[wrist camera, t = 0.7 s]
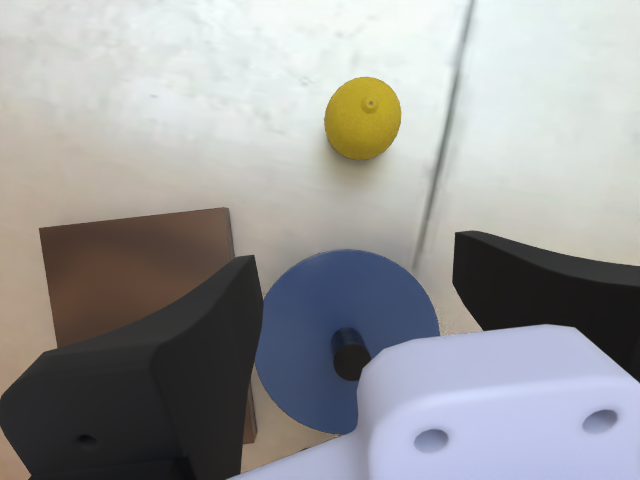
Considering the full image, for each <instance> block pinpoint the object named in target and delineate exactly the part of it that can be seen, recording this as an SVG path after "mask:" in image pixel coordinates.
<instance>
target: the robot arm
mask: <svg viewBox="0 0 640 480" xmlns="http://www.w3.org/2000/svg"><path fill="white" fill-rule="evenodd" d="M452 283H453V285H454V287H455V289H456V291H457V293H458V295H459V296H460V298H461V300H462V302H463V304H464V305H465V307H466V308H467V309H468V311H469V312H470V313H471V315H472V316H473V317H474V319H475V320H476V322H477V323H478V324H479V325H480V327H481V328H482V329H483V331H482V332H473V333H464V334H455V335H446V336H437V337H429V338H420V339H413V340H410V341H407V342H404V343H401V344H398V345H394V346H391V347H388V348H385V349H383V350H382V351H381V352H380V353H379V354H378V355H377V356H376V357H375V358H373V359H372V360H371V361H370V362H369V363H368V364H367V365H366V366H365V367H364V368H363V369H362V373H361V377H360V380H359V384H358V388H357V403H358V423H357V426H356V429H355V430H354V431H352V432H351V433H348V434H345V435H343V436H340V437H337V438H335V439H332V440H329V441H327V442H324V443H321V444H319V445H316V446H313V447H311V448H308V449H305V450H303V451H300V452H298V453H295V454H292V455H290V456H287V457H284V458H282V459H279V460H276V461H274V462H271V463H268V464H266V465H263V466H260V467H258V468H255V469H252V470H250V471H247V472H245V473H242V474H240V471H241V457H242V445H243V435H244V424H245V414H246V405H247V396H248V389H249V383H250V378H251V373H252V369H253V365H254V360H255V356H256V352H257V347H258V343H259V338H260V334H261V329H262V321H263V307H264V303H263V297H262V292H261V287H260V282H259V277H258V272H257V267H256V262H255V257H254V255H249V256H240V257H236V258H234V259H233V260H231V261H230V262H229V263H227V264H226V265H225V266H223V267H222V268H221V269H220V270H218V271H217V272H216V273H215V274H213V275H212V276H211V277H210V278H208V279H207V280H206V281H204V282H203V283H201V284H200V285H199V286H197V287H196V288H194V289H193V290H192V291H190V292H189V293H187V294H186V295H184V296H183V297H181V298H179V299H178V300H176V301H174V302H173V303H171V304H169V305H167V306H166V307H164V308H162V309H160V310H158V311H156V312H154V313H152V314H150V315H148V316H145V317H143V318H141V319H139V320H137V321H135V322H133V323H130V324H128V325H125V326H123V327H120V328H118V329H115V330H113V331H110V332H107V333H105V334H102V335H99V336H96V337H93V338H90V339H87V340H84V341H80V342H77V343H74V344H70V345H67V346H64V347H60V348H57V349H54V350H50V351H46V352H44V353H42V354H41V355H40V356H39V358H38V359H37V360H36V361H35V362H34V363H33V364H32V365H31V366H30V367H29V368H28V369H27V370H26V371H25V372H24V373H23V374H22V375H21V376H20V377H19V378H18V379H17V380H16V381H15V382H14V383H13V384H12V385H11V386H10V387H9V388H8V389H7V390H6V391H5V392H4V394H3V395H2V396H1V399H0V426H1V428H2V430H3V433H4V435H5V436H6V438H7V439H8V441H9V442H10V444H11V445H12V447H13V448H14V450H15V451H16V453H17V454H18V456H19V457H20V459H21V460H22V462H23V463H24V465H25V466H26V468H27V469H28V471H29V472H30V474H31V477H30V478H29V479H28V480H640V266H632V265H624V264H616V263H608V262H602V261H595V260H590V259H585V258H579V257H574V256H569V255H565V254H560V253H556V252H552V251H548V250H544V249H540V248H537V247H533V246H529V245H526V244H522V243H519V242H516V241H512V240H509V239H506V238H502V237H499V236H495V235H492V234H488V233H484V232H480V231H463V232H455V246H454V262H453V279H452Z"/></svg>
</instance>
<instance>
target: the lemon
mask: <svg viewBox="0 0 640 480" xmlns="http://www.w3.org/2000/svg"><path fill="white" fill-rule="evenodd" d="M324 122H325V131H326V135H327V138H328V140H329V142H330V143H331V145H332V146H333V148H334V149H335V150H336V151H337V152H338V153H340V154H341V155H343V156H345V157H347V158H350V159H354V160H366V159H370V158H374V157H376V156H377V155H379V154H381V153H383V152H384V151H385V150H386V149H387V148H388V147H389V146H390V145H391V144H392V142H393V141H394V139H395V137H396V136H397V133H398V130H399V127H400V124H401V108H400V103H399V100H398V98H397V96H396V94H395V92H394V91H393V90H392V89H391V87H390V86H389V85H387V84H386V83H385V82H383V81H381V80H379V79H376V78H371V77H360V78H355V79H353V80H350V81H348V82H346V83H345V84H344V85H342V86H341V87H340V88H339V89H338V90H337V91H336V92H335V93H334V95H333V96H332V97H331V99H330V101H329V103H328V106H327V108H326V113H325V118H324Z"/></svg>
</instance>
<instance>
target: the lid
mask: <svg viewBox="0 0 640 480" xmlns="http://www.w3.org/2000/svg"><path fill="white" fill-rule="evenodd" d="M263 303H264V307H263V321H262V329H261V334H260V338H259V343H258V347H257V352H256V356H255V366H256V369H257V372H258V375H259V378H260V380H261V382H262V384H263V386H264V388H265V390H266V391H267V393H268V394H269V396H270V397H271V399H272V400H273V401H274V402H275V403H276V404H277V405H278V406H279V408H281V409H282V410H283V411H284V412H285V413H286V414H287V415H289V416H290V417H292V418H293V419H295V420H296V421H298V422H299V423H301V424H303V425H305V426H307V427H310V428H312V429H315V430H318V431H322V432H327V433H332V434H348V433H351V432H352V431H354V430H355V429H356V426H357V423H358V403H357V388H358V384H359V380H360V377H361V373H362V369H363V368H364V367H365V366H366V365H367V364H368V363H369V362H370V361H371V360H372V359H373V358H375V357H376V356H377V355H378V354H379V353H380V352H381V351H382V350H383V349H385V348H388V347H391V346H394V345H398V344H401V343H404V342H407V341H410V340H413V339H420V338H429V337H437V336H440V332H439V325H438V320H437V317H436V313H435V310H434V307H433V305H432V303H431V301H430V299H429V297H428V295H427V294H426V292H425V291H424V289H423V287H422V286H421V285H420V284H419V283H418V281H417V280H416V279H415V278H414V277H413V276H412V275H411V274H410V273H409V272H407V271H406V270H405V269H404V268H402V267H401V266H399V265H398V264H396V263H395V262H393V261H391V260H389V259H387V258H385V257H382V256H380V255H377V254H374V253H371V252H366V251H361V250H350V249H346V250H333V251H328V252H323V253H320V254H317V255H314V256H311V257H309V258H307V259H305V260H303V261H301V262H299V263H298V264H296V265H295V266H293V267H291V268H290V269H289V270H288V271H287V272H285V273H284V274H283V275H282V276H281V277H280V278H279V279H278V280H277V281H276V283H275V284H274V285H273V286H272V288H271V289H270V290H269V292H268V293H267V295H266V297H265V298H264V300H263Z"/></svg>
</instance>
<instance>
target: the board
mask: <svg viewBox="0 0 640 480" xmlns="http://www.w3.org/2000/svg"><path fill="white" fill-rule="evenodd" d="M39 233H40V239H41V245H42V252H43V258H44V264H45V271H46V277H47V284H48V290H49V296H50V303H51V309H52V315H53V322H54V328H55V335H56V341H57V347H58V348H60V347H64V346H67V345H70V344H74V343H77V342H80V341H84V340H87V339H90V338H93V337H96V336H99V335H102V334H105V333H107V332H110V331H113V330H115V329H118V328H120V327H123V326H125V325H128V324H130V323H133V322H135V321H137V320H139V319H141V318H143V317H145V316H148V315H150V314H152V313H154V312H156V311H158V310H160V309H162V308H164V307H166V306H167V305H169V304H171V303H173V302H174V301H176V300H178V299H179V298H181V297H183V296H184V295H186V294H187V293H189V292H190V291H192V290H193V289H194V288H196V287H197V286H199V285H200V284H201V283H203V282H204V281H206V280H207V279H208V278H210V277H211V276H212V275H213V274H215V273H216V272H217V271H218V270H220V269H221V268H222V267H223V266H225V265H226V264H227V263H229V262H230V261H231V260H233V259H234V258H235V257H234V249H233V241H232V233H231V225H230V217H229V209H228V208H224V207H223V208H214V209H205V210H196V211H187V212H178V213H169V214H160V215H151V216H142V217H133V218H125V219H116V220H107V221H98V222H89V223H80V224H71V225H62V226H53V227H44V228H39ZM256 433H257V430H256V422H255V415H254V407H253V399H252V391H251V383H249V389H248V396H247V405H246V414H245V424H244V435H243V444H249V443H254V441H255V437H256Z"/></svg>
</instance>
